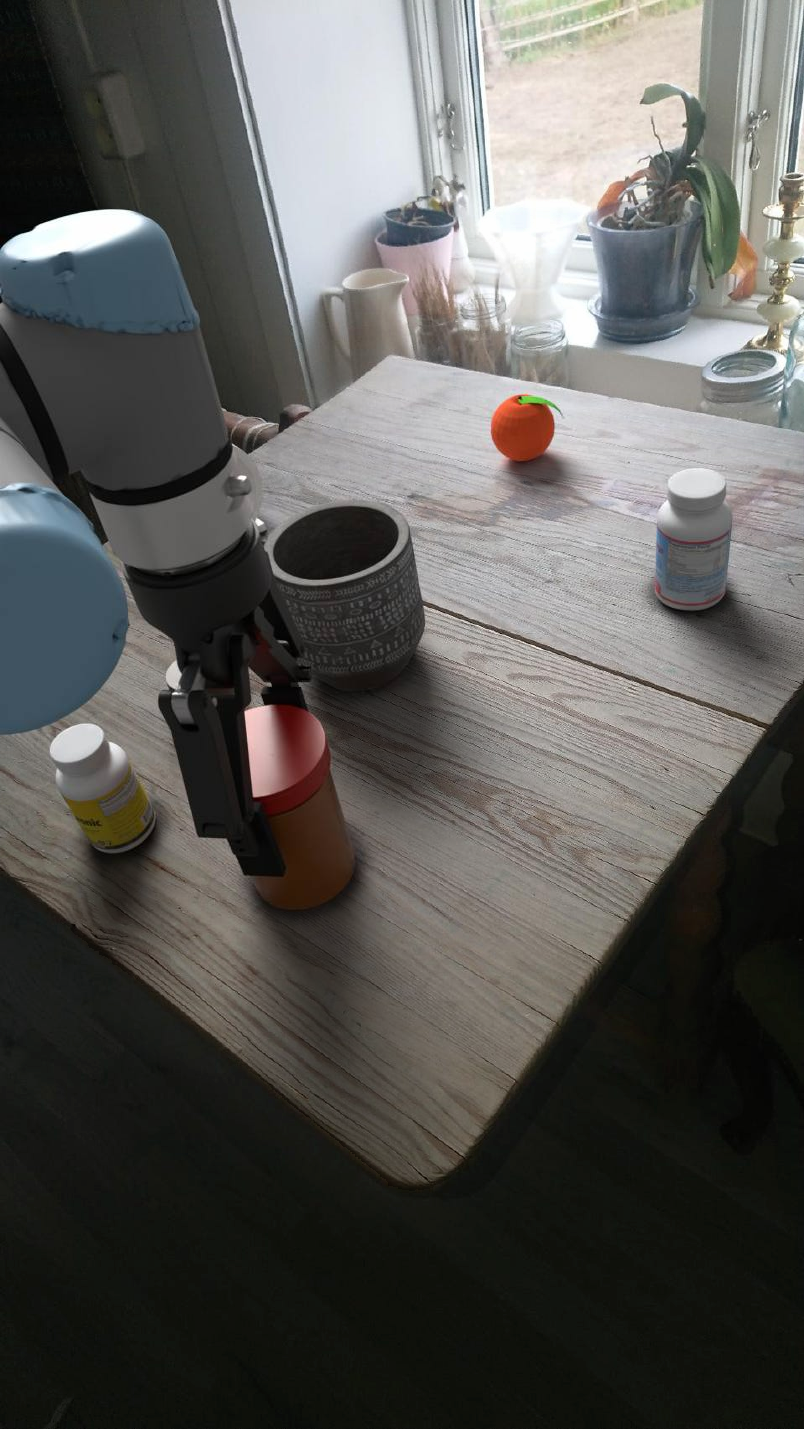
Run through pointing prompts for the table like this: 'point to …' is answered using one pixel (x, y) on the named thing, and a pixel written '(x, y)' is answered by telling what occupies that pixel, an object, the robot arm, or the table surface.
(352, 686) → the planter
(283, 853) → the jam jar
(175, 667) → the stand
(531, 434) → the clementine
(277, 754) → the jam lid
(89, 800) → the supplement bottle
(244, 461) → the headphone stand
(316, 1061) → the table surface
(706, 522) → the pill bottle
